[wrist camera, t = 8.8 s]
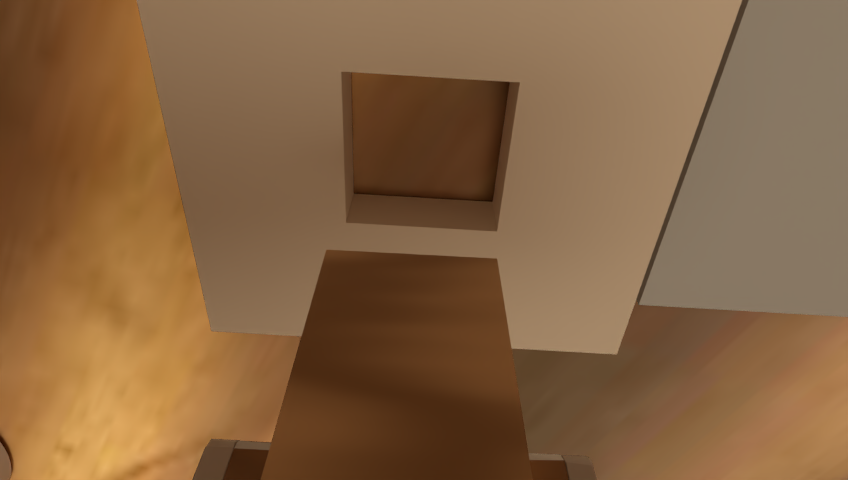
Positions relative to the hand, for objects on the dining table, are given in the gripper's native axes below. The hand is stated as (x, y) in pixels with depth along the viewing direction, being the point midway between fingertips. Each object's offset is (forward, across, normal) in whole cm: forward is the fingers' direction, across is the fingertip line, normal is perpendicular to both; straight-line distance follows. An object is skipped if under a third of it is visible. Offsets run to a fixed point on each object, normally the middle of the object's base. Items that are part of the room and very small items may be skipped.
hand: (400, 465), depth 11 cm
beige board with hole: (+16, 0, 0) cm, 16 cm away
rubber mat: (+15, +17, 0) cm, 23 cm away
